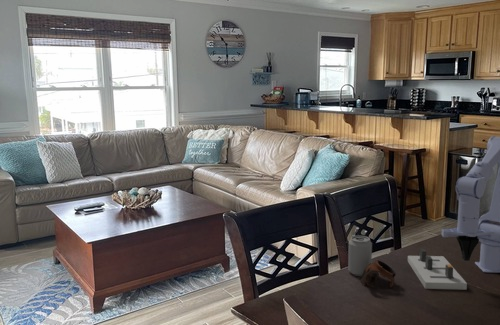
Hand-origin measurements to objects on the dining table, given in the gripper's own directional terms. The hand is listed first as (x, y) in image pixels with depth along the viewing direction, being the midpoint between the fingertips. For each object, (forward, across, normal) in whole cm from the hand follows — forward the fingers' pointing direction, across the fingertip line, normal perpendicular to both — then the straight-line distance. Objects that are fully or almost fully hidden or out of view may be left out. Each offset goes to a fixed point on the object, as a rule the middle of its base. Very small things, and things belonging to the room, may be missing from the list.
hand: (465, 259), depth 135 cm
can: (+8, -31, +7) cm, 33 cm away
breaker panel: (+8, -7, +7) cm, 13 cm away
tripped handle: (+6, -5, 0) cm, 7 cm away
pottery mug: (+8, -27, -2) cm, 28 cm away
